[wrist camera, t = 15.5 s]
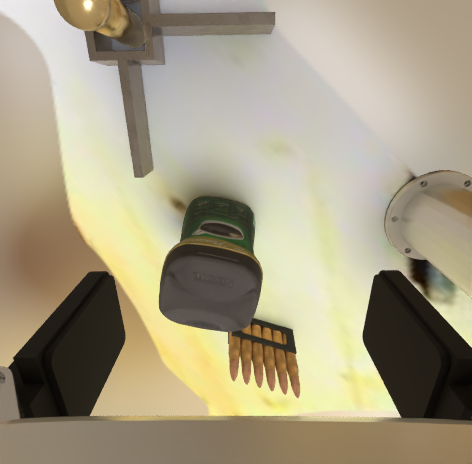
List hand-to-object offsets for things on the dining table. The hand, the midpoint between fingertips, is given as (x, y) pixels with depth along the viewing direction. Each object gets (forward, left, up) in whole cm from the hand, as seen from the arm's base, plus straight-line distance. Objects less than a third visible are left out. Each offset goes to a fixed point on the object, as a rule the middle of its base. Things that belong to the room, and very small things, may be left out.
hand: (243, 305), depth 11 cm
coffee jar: (+3, +9, -31) cm, 32 cm away
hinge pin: (+12, -14, -30) cm, 35 cm away
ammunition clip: (-3, +27, -31) cm, 41 cm away
